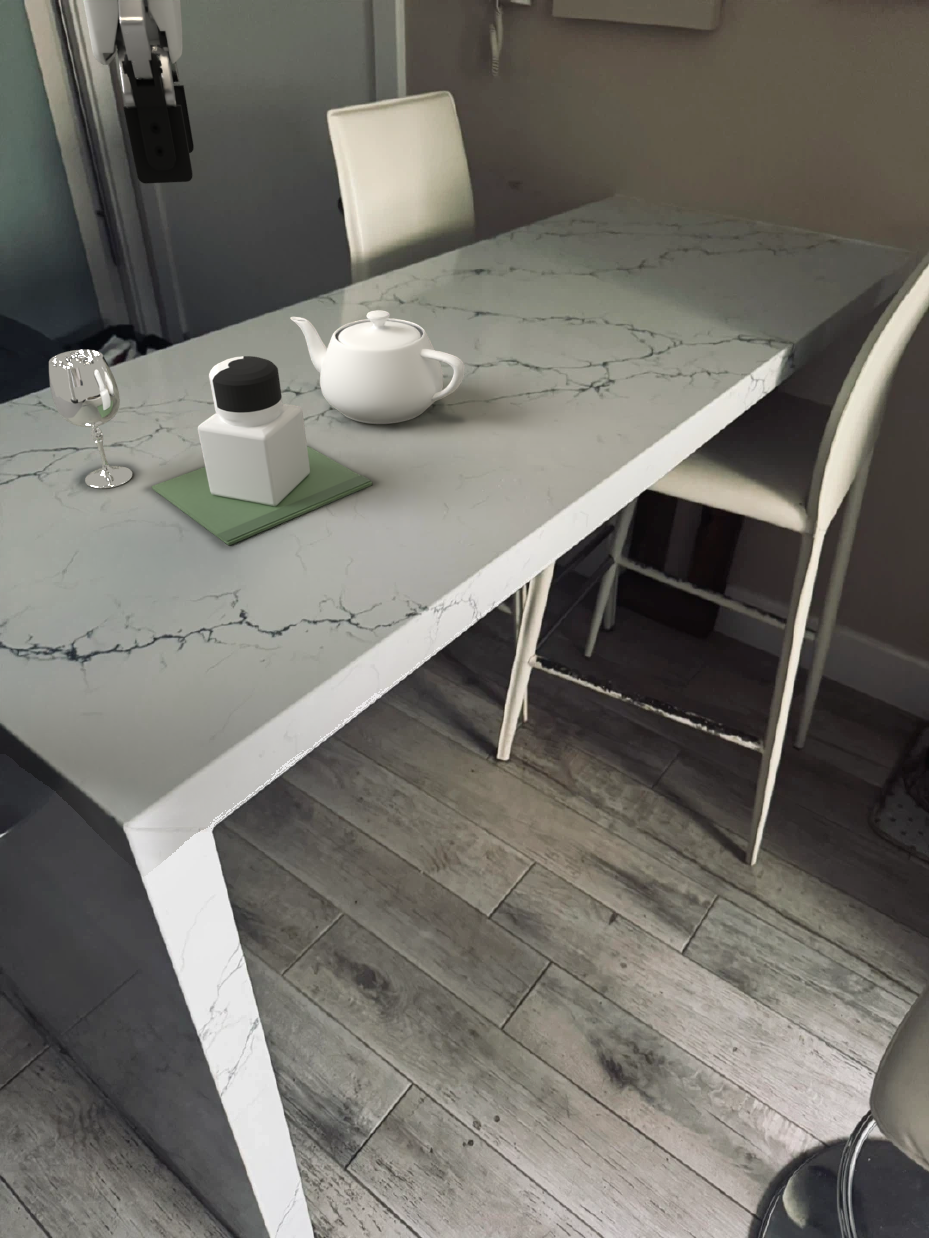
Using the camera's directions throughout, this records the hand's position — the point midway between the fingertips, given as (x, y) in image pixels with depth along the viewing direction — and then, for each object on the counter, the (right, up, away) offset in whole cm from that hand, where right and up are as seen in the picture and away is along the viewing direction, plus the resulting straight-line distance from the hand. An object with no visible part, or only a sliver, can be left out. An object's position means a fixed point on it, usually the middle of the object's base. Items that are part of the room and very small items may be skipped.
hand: (168, 166), depth 57 cm
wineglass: (-16, -16, +29) cm, 37 cm away
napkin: (0, -17, +28) cm, 32 cm away
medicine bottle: (0, -17, +28) cm, 32 cm away
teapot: (+9, -5, +43) cm, 44 cm away
